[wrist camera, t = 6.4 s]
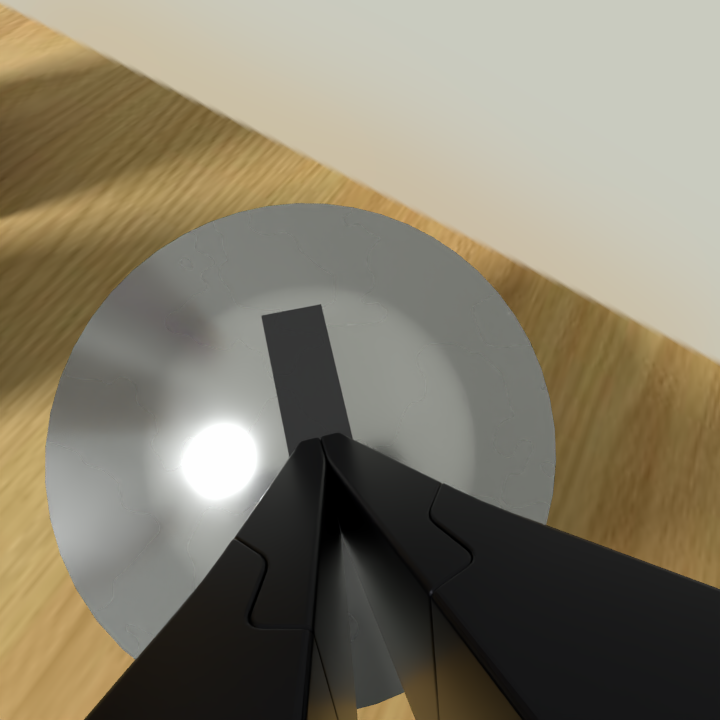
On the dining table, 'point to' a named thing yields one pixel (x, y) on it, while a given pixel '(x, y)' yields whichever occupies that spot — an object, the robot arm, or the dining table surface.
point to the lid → (280, 401)
